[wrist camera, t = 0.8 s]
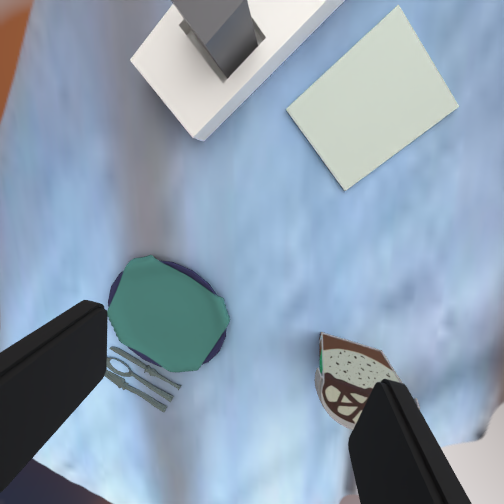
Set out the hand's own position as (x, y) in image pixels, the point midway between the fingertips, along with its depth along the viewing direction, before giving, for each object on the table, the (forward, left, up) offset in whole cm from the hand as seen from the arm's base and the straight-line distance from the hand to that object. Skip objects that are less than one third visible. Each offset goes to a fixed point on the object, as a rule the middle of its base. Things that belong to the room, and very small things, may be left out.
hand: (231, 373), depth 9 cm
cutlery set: (+28, +3, -28) cm, 39 cm away
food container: (+5, +23, -27) cm, 36 cm away
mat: (-16, -4, -27) cm, 32 cm away
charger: (-8, -19, -25) cm, 32 cm away
